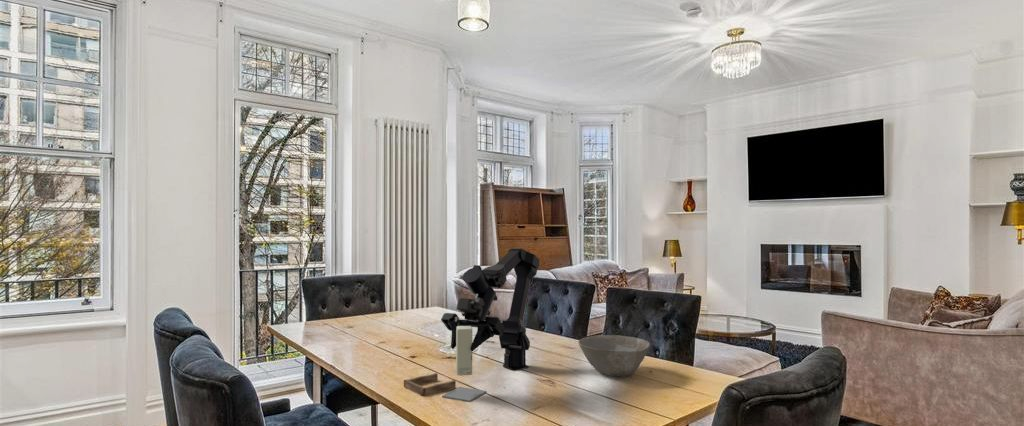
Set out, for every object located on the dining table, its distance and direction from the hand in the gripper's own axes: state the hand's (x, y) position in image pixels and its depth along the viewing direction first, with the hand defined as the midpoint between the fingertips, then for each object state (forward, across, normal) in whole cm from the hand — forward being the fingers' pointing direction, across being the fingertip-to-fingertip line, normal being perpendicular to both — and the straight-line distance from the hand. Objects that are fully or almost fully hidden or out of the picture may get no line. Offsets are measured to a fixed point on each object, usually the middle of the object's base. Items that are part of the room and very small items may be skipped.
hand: (461, 349), depth 146 cm
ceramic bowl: (-18, +32, +38) cm, 53 cm away
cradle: (+8, -13, +11) cm, 18 cm away
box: (+4, 0, +6) cm, 7 cm away
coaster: (+8, 0, +10) cm, 13 cm away
